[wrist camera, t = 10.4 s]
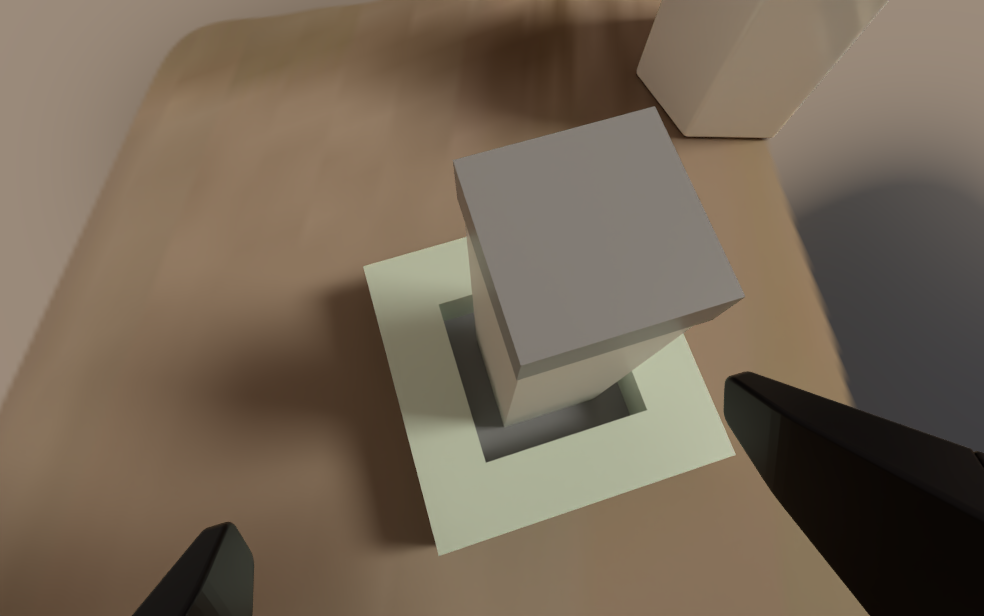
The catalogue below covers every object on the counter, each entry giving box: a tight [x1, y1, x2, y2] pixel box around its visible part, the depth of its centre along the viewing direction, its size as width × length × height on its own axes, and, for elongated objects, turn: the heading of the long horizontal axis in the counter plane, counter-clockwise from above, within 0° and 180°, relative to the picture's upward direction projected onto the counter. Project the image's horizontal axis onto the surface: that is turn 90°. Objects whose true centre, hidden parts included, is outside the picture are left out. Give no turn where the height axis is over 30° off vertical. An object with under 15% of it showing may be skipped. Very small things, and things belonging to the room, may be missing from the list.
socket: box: [363, 237, 736, 556], centre depth 22 cm, size 11×11×3 cm
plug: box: [453, 106, 745, 427], centre depth 17 cm, size 4×4×14 cm
